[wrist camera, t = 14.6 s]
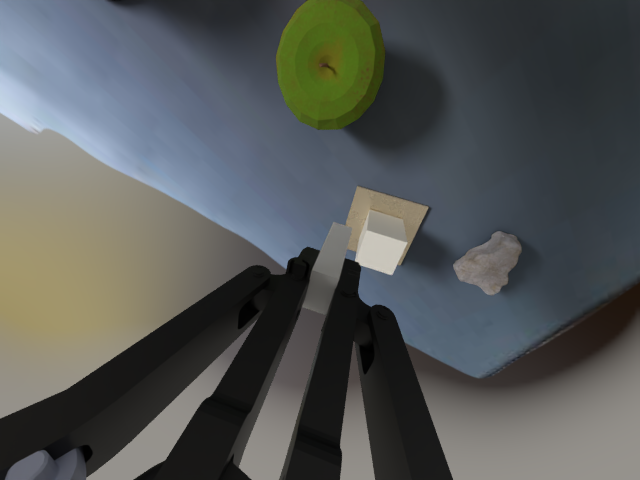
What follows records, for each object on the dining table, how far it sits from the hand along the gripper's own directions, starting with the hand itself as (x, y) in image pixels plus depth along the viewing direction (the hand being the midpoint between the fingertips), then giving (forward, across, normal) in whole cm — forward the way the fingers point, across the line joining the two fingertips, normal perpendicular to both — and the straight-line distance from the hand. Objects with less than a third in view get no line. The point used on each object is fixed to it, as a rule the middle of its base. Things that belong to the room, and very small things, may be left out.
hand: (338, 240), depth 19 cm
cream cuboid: (+23, +6, -8) cm, 25 cm away
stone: (+25, +24, -7) cm, 35 cm away
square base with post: (+24, +6, -8) cm, 26 cm away
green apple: (+25, -7, +12) cm, 28 cm away
